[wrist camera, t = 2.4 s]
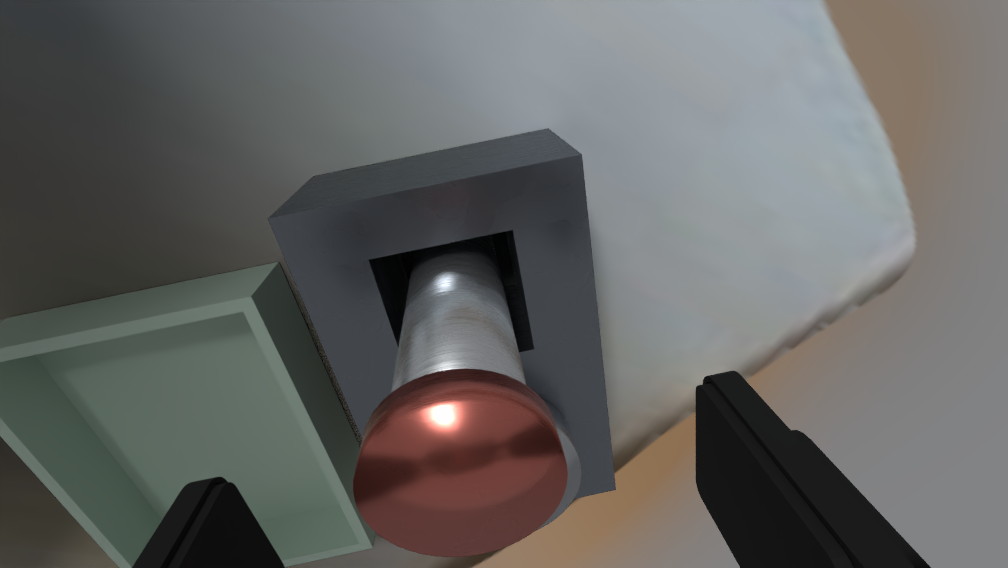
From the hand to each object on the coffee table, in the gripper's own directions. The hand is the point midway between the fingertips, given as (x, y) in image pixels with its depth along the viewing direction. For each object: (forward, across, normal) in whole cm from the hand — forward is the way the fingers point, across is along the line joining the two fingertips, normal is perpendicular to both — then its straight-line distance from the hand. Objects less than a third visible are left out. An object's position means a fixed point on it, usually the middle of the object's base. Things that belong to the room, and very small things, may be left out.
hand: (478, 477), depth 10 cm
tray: (+11, +13, +5) cm, 18 cm away
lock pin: (+11, 0, -1) cm, 11 cm away
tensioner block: (+12, 0, +2) cm, 12 cm away
